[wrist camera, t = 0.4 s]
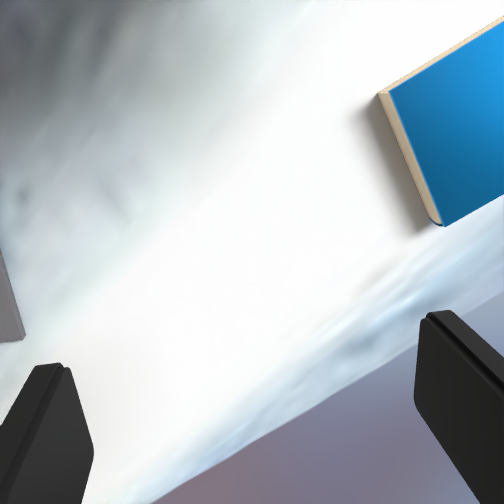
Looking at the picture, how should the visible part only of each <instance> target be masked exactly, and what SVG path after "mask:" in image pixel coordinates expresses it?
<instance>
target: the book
mask: <svg viewBox="0 0 504 504" xmlns="http://www.w3.org/2000/svg"><path fill="white" fill-rule="evenodd" d="M377 94H378V96H379V98H380V101H381V103H382V106H383V108H384V110H385V113H386V115H387V117H388V120H389V122H390V125H391V127H392V129H393V132H394V134H395V137H396V139H397V141H398V144H399V146H400V149H401V151H402V153H403V156H404V158H405V161H406V163H407V165H408V168H409V170H410V173H411V175H412V177H413V180H414V182H415V184H416V187H417V189H418V192H419V194H420V196H421V199H422V201H423V204H424V206H425V208H426V211H427V213H428V216H429V217H430V219H431V220H432V221H433V222H434V223H435V224H436V225H438V226H441V227H442V226H444V227H447V226H448V225H450V224H452V223H454V222H455V221H457V220H459V219H461V218H462V217H464V216H466V215H468V214H470V213H471V212H473V211H475V210H477V209H478V208H480V207H482V206H484V205H485V204H487V203H489V202H491V201H492V200H494V199H496V198H498V197H499V196H501V195H503V194H504V16H502V17H501V18H499V19H497V20H496V21H494V22H492V23H491V24H489V25H488V26H486V27H484V28H483V29H481V30H479V31H478V32H476V33H474V34H473V35H471V36H470V37H468V38H466V39H465V40H463V41H461V42H460V43H458V44H456V45H455V46H453V47H452V48H450V49H448V50H447V51H445V52H443V53H442V54H440V55H438V56H437V57H435V58H434V59H432V60H430V61H429V62H427V63H425V64H424V65H422V66H420V67H419V68H417V69H416V70H414V71H412V72H411V73H409V74H407V75H406V76H404V77H402V78H401V79H399V80H398V81H396V82H394V83H393V84H391V85H389V86H388V87H386V88H384V89H383V90H381V91H380V92H378V93H377Z"/></svg>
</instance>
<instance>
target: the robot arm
mask: <svg viewBox="0 0 504 504" xmlns="http://www.w3.org/2000/svg"><path fill="white" fill-rule="evenodd" d="M414 402H415V405H416V408H417V410H418V412H419V413H420V414H421V416H422V418H423V419H424V421H425V422H426V424H427V425H428V426H429V428H430V430H431V431H432V433H433V434H434V436H435V437H436V438H437V440H438V441H439V443H440V444H441V446H442V447H443V449H444V450H445V452H446V453H447V455H448V456H449V458H450V459H451V461H452V462H453V464H454V465H455V467H456V468H457V470H458V471H459V473H460V474H461V476H462V477H463V479H464V480H465V481H466V483H467V485H468V486H469V488H470V489H471V491H472V492H473V493H474V495H475V496H476V498H477V500H478V501H479V502H480V504H504V358H503V356H501V355H500V354H499V353H498V352H497V351H496V350H495V349H493V348H492V347H491V346H490V345H489V344H488V343H487V342H486V341H485V340H483V338H481V337H480V336H479V335H478V334H477V333H476V332H475V331H474V330H473V329H471V328H470V327H469V326H468V325H467V324H466V323H465V322H464V321H463V320H461V319H460V318H459V317H458V316H457V315H456V314H455V313H454V312H452V311H451V310H444V311H436V312H429V313H428V314H427V315H426V318H424V319H422V320H421V322H420V331H419V342H418V353H417V364H416V375H415V387H414ZM93 456H94V449H93V443H92V440H91V437H90V433H89V430H88V426H87V423H86V420H85V416H84V413H83V410H82V406H81V403H80V399H79V396H78V393H77V389H76V386H75V383H74V379H73V376H72V372H71V370H70V368H69V367H65V368H64V367H63V365H62V364H61V363H52V364H44V365H37V366H35V367H34V368H33V370H32V372H31V373H30V375H29V377H28V379H27V381H26V382H25V384H24V386H23V388H22V389H21V391H20V393H19V395H18V397H17V398H16V400H15V402H14V404H13V405H12V407H11V409H10V411H9V413H8V414H7V416H6V418H5V420H4V421H3V423H2V425H0V504H81V503H82V499H83V496H84V492H85V488H86V484H87V481H88V477H89V473H90V470H91V466H92V462H93Z"/></svg>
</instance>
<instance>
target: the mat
mask: <svg viewBox="0 0 504 504" xmlns="http://www.w3.org/2000/svg"><path fill="white" fill-rule="evenodd" d="M25 336H26V334H25V330H24V327H23V324H22V320H21V317H20V314H19V310H18V307H17V304H16V300H15V297H14V294H13V290H12V287H11V283H10V280H9V277H8V273H7V270H6V267H5V263H4V260H3V257H2V253H1V250H0V342H8V341H17V340H23V339H24V337H25Z"/></svg>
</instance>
